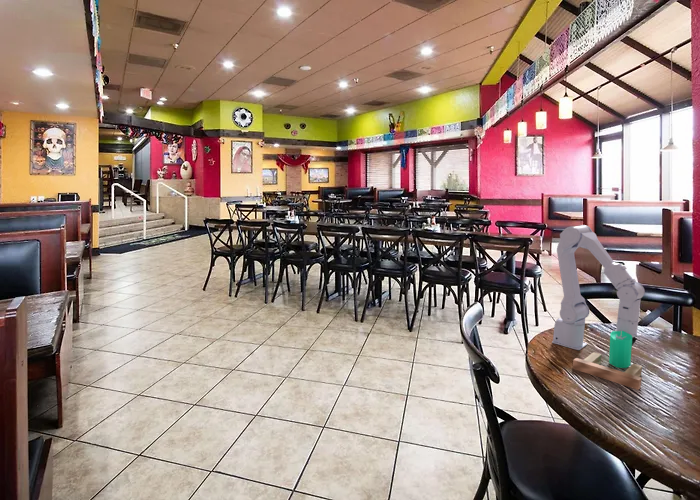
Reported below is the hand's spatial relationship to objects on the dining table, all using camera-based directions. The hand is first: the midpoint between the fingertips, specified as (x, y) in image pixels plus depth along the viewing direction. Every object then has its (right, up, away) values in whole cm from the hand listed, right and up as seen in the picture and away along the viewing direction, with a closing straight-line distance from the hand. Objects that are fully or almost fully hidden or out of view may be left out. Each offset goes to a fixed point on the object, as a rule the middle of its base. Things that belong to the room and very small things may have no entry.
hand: (623, 357), depth 137 cm
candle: (-3, -1, -2) cm, 3 cm away
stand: (-9, -3, -8) cm, 12 cm away
